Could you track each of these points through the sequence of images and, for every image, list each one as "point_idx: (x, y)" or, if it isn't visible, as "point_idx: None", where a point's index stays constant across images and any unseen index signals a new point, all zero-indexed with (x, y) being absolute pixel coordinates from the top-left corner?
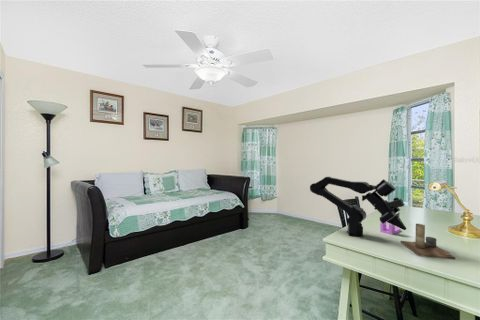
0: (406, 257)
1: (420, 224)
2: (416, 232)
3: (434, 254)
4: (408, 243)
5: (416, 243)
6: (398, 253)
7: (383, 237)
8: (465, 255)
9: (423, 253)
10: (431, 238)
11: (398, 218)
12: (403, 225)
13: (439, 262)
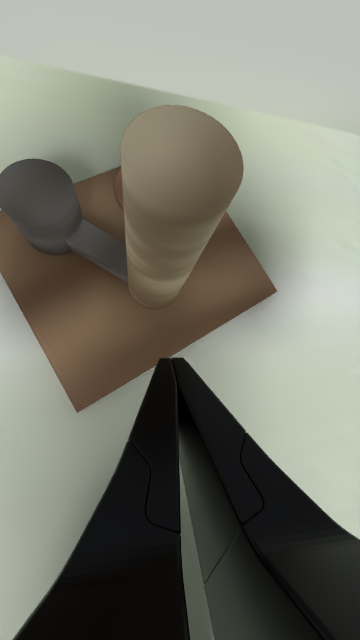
0: (345, 338)
1: (173, 154)
2: (194, 261)
3: (219, 222)
4: (110, 354)
5: (176, 295)
6: (322, 380)
7: (34, 561)
8: (67, 101)
9: (251, 268)
10: (48, 189)
11: (265, 538)
12: (211, 391)
13: (284, 214)
